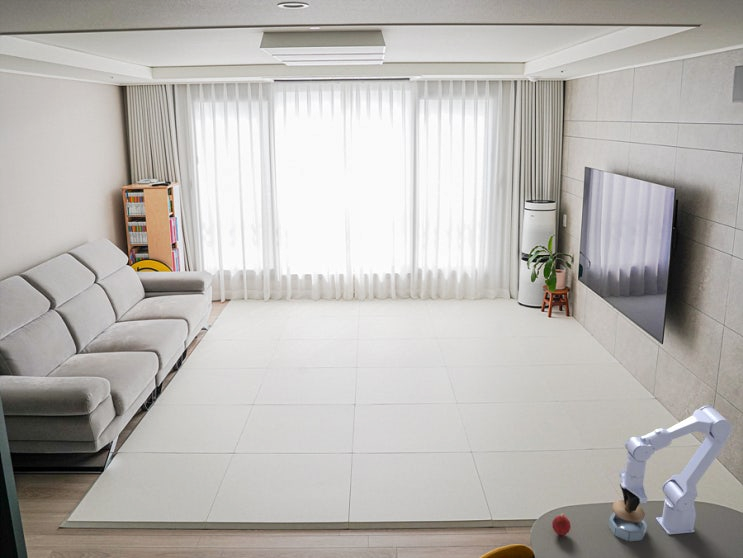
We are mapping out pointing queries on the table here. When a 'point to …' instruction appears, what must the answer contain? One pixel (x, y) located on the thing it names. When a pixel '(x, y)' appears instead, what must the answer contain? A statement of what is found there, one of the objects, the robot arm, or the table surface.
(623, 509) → the lid
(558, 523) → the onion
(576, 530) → the table surface
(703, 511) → the table surface
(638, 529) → the bowl
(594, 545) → the table surface
